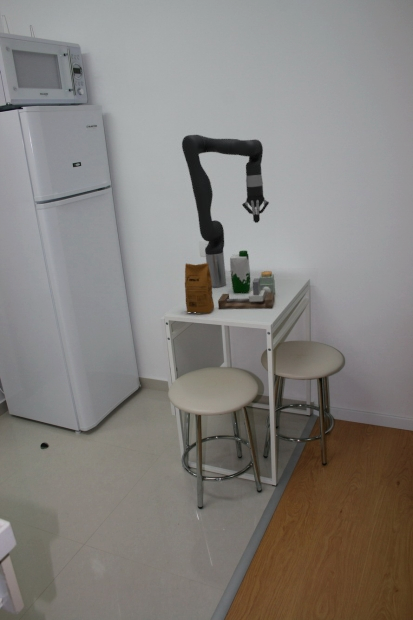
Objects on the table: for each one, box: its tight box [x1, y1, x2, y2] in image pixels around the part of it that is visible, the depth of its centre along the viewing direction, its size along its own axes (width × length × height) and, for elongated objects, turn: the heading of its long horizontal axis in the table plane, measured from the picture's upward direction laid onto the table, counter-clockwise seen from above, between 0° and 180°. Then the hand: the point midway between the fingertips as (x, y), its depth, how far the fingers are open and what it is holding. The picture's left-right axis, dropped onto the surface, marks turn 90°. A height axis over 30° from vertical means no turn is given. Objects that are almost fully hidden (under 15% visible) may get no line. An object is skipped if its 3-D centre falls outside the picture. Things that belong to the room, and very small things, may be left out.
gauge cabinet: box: [259, 273, 276, 298], centre depth 233 cm, size 6×8×10 cm
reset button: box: [260, 270, 273, 277], centre depth 232 cm, size 5×5×4 cm
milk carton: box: [229, 250, 251, 295], centre depth 243 cm, size 9×9×20 cm
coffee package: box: [184, 262, 215, 314], centre depth 221 cm, size 10×12×22 cm
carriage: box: [248, 277, 265, 302], centre depth 222 cm, size 6×8×8 cm
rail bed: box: [217, 293, 276, 310], centre depth 225 cm, size 24×10×4 cm, turn 77°
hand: (256, 222), depth 237 cm, fingers closed
